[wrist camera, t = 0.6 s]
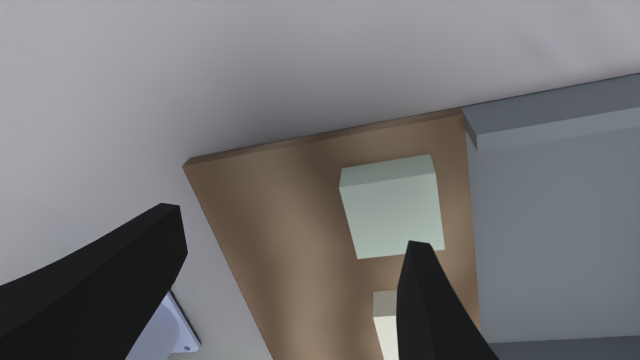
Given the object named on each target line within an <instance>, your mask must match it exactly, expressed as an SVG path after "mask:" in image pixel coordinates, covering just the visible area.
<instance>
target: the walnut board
mask: <svg viewBox="0 0 640 360" xmlns="http://www.w3.org/2000/svg"><path fill="white" fill-rule="evenodd" d="M425 154H430V155H431V159H432V162H433V166H434V169H435V173H436V181H437V189H438V197H439V205H440V213H441V221H442V229H443V237H444V245H445V250H437V251H434V252H435V254H436V256H437V258H438V260H439V262H440V264H441V266H442V268H443V270H444V272H445V274H446V276H447V278H448V280H449V282H450V284H451V285H452V287H453V289H454V291H455V293H456V294H457V296H458V298H459V299H460V301H461V303H462V305H463V306H464V308H465V310H466V311H467V313H468V315H469V316H470V318H471V319H472V321H473V322H474V324H475V325H476V327H477V328H478V330H479V332H480V333H481V324H480V311H479V298H478V285H477V272H476V259H475V246H474V233H473V220H472V207H471V194H470V181H469V168H468V155H467V142H466V129H465V116H464V113H463V111H462V109H461V108H460V107H458V108H453V109H447V110H442V111H437V112H431V113H426V114H421V115H416V116H410V117H405V118H400V119H394V120H389V121H384V122H379V123H373V124H368V125H363V126H358V127H352V128H347V129H342V130H336V131H331V132H326V133H321V134H315V135H310V136H305V137H299V138H294V139H289V140H284V141H278V142H273V143H268V144H262V145H257V146H252V147H247V148H241V149H236V150H231V151H225V152H220V153H215V154H210V155H204V156H199V157H194V158H189V159H188V161H187V162H186V163H185V164H184V165H183V166H182V167H183V169H184V171H185V174H186V176H187V178H188V180H189V182H190V184H191V186H192V188H193V191H194V193H195V195H196V197H197V199H198V201H199V203H200V205H201V208H202V210H203V212H204V214H205V216H206V218H207V220H208V222H209V224H210V227H211V229H212V231H213V233H214V235H215V237H216V239H217V241H218V244H219V246H220V248H221V250H222V252H223V254H224V256H225V258H226V261H227V263H228V265H229V267H230V269H231V271H232V273H233V275H234V278H235V280H236V282H237V284H238V286H239V288H240V290H241V292H242V295H243V297H244V299H245V301H246V303H247V305H248V307H249V309H250V312H251V314H252V316H253V318H254V320H255V322H256V324H257V326H258V329H259V331H260V333H261V335H262V337H263V339H264V341H265V343H266V345H267V348H268V350H269V352H270V354H271V356H272V358H273V360H384V357H383V353H382V350H381V346H380V342H379V338H378V334H377V331H376V327H375V323H374V319H373V292H377V291H389V290H397V286H398V282H399V278H400V274H401V270H402V265H403V261H404V257H405V254H400V255H391V256H381V257H372V258H363V259H358V258H357V255H356V251H355V247H354V243H353V239H352V236H351V232H350V228H349V224H348V220H347V217H346V213H345V209H344V205H343V201H342V198H341V194H340V190H339V184H340V178H341V172H342V168H347V167H353V166H359V165H365V164H371V163H377V162H383V161H389V160H395V159H401V158H407V157H413V156H419V155H425Z"/></svg>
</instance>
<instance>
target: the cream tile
mask: <svg viewBox="0 0 640 360" xmlns="http://www.w3.org/2000/svg"><path fill="white" fill-rule="evenodd" d="M396 302H397V290H389V291H377V292H373V319H374V323H375V327H376V331H377V334H378V338H379V342H380V346H381V350H382V353H383V357H384V360H399V356H398V343H397V329H396Z"/></svg>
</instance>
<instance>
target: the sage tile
mask: <svg viewBox="0 0 640 360" xmlns="http://www.w3.org/2000/svg"><path fill="white" fill-rule="evenodd" d="M339 190H340V194H341V198H342V201H343V205H344V209H345V213H346V217H347V220H348V224H349V228H350V232H351V236H352V239H353V243H354V247H355V251H356V255H357V258H358V259H363V258H372V257H381V256H391V255H400V254H405V253H406V249H407V245H408V241H409V240H412V241H419V242H425V243H430V244H431V246H432V247H433V249H434V251H437V250H445V245H444V237H443V229H442V221H441V213H440V205H439V197H438V189H437V181H436V173H435V169H434V166H433V162H432V159H431V155H430V154H425V155H419V156H413V157H407V158H401V159H395V160H389V161H383V162H377V163H371V164H365V165H359V166H353V167H347V168H342V172H341V178H340V184H339Z"/></svg>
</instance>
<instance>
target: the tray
mask: <svg viewBox="0 0 640 360" xmlns="http://www.w3.org/2000/svg"><path fill="white" fill-rule="evenodd" d="M460 108H461V109H462V111H463V113H464V116H465V129H466V142H467V155H468V168H469V181H470V194H471V207H472V220H473V233H474V246H475V259H476V272H477V285H478V298H479V311H480V324H481V335H482V336H483V337H484V339H485V340H486V342H487V343H488V345H489V346H490V347H491V349H492V350H493V352H494V353H495V354H496V356H497V357H498V358H499V359H500V360H640V73H638V74H632V75H627V76H622V77H616V78H611V79H606V80H601V81H595V82H590V83H585V84H579V85H574V86H569V87H564V88H558V89H553V90H548V91H542V92H537V93H532V94H527V95H521V96H516V97H511V98H505V99H500V100H495V101H490V102H484V103H479V104H474V105H468V106H463V107H460Z"/></svg>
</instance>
